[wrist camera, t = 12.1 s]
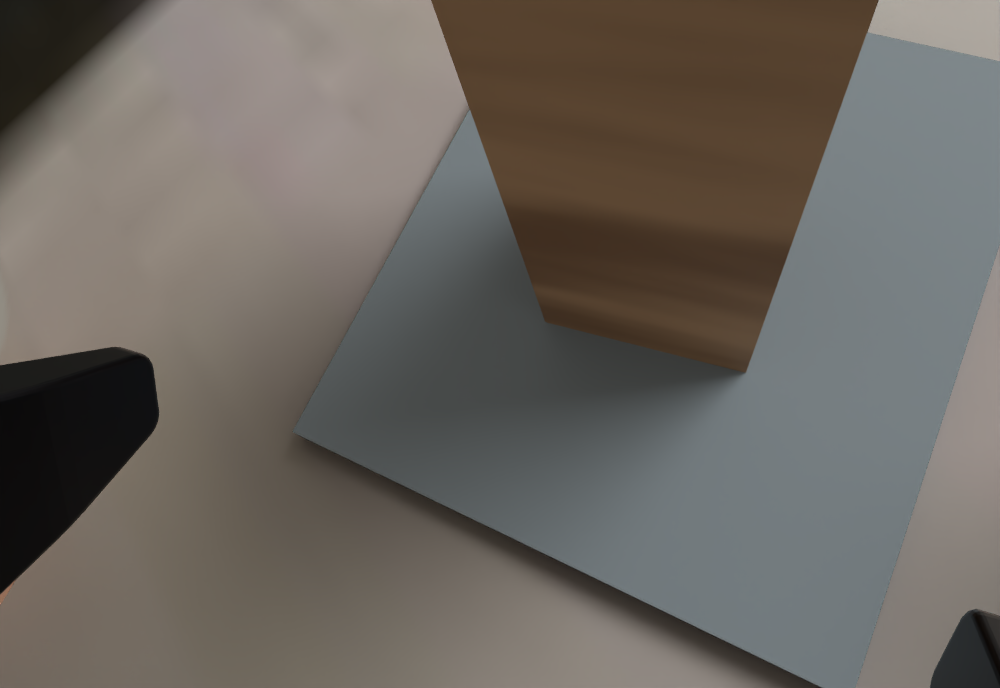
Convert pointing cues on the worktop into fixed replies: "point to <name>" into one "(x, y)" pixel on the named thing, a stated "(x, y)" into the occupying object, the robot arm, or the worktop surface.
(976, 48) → the worktop surface
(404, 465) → the slate mat
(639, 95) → the walnut brick
